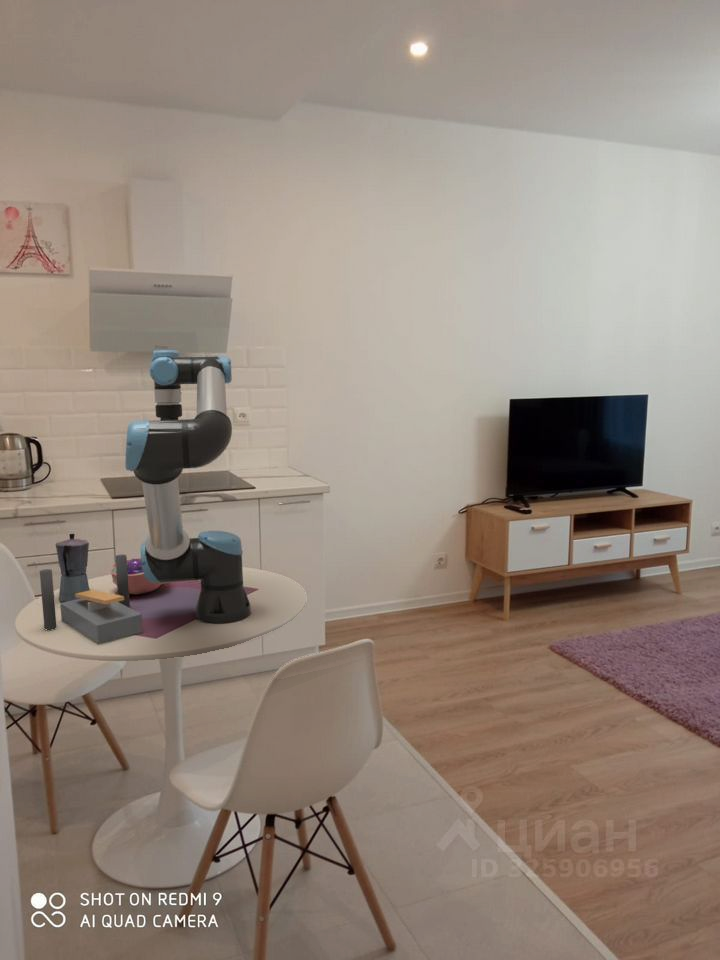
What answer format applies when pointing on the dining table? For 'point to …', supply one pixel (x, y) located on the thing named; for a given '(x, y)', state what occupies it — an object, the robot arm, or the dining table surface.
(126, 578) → the post
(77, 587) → the moka pot
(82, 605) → the block
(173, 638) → the dining table surface
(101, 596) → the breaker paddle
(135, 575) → the cell model
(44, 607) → the post
